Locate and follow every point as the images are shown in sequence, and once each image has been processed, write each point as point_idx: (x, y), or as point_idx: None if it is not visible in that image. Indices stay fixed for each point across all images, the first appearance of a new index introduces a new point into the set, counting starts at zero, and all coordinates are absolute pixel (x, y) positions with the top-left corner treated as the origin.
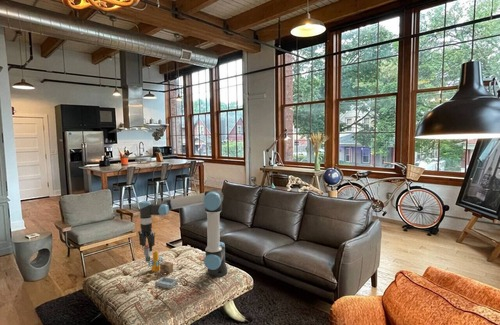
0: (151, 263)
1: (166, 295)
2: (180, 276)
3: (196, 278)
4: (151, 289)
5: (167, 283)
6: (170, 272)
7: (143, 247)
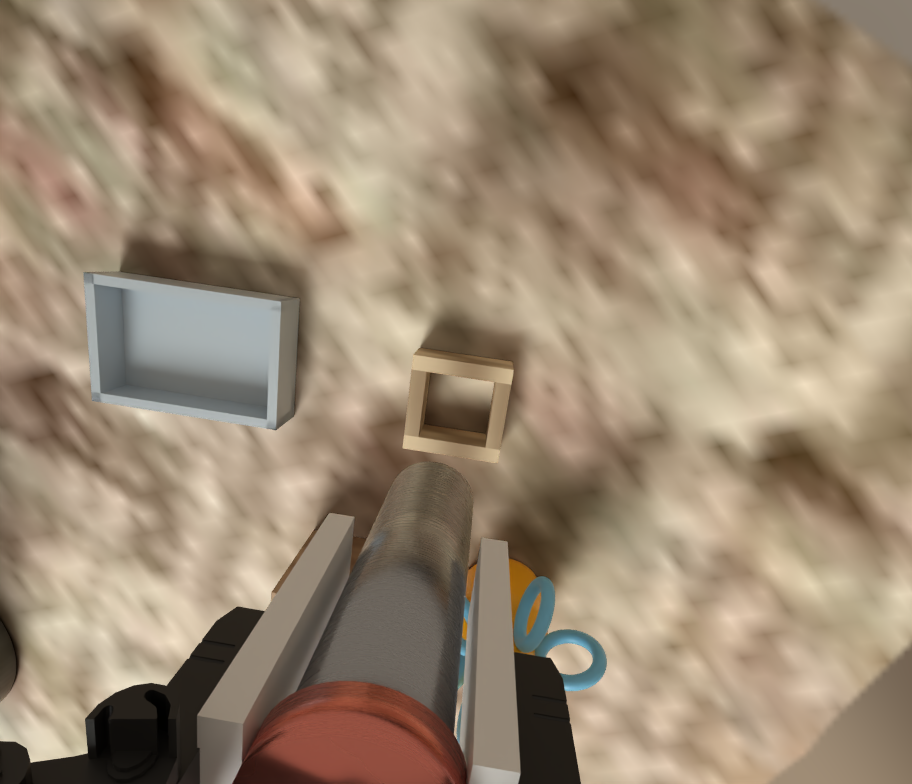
0: (554, 639)
1: (72, 140)
2: (186, 519)
3: (25, 512)
4: (297, 213)
5: (201, 354)
6: None
7: (496, 729)
